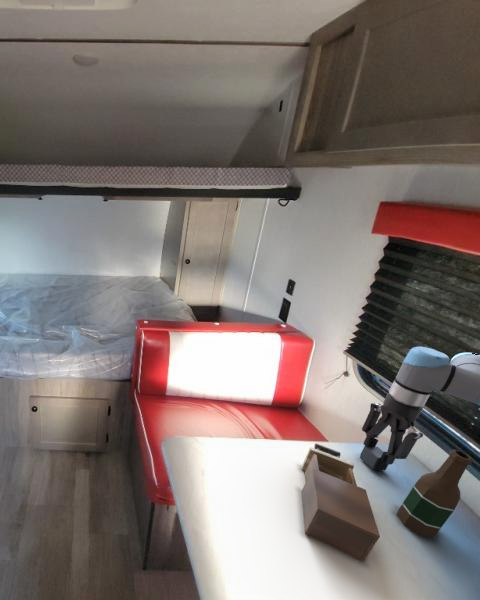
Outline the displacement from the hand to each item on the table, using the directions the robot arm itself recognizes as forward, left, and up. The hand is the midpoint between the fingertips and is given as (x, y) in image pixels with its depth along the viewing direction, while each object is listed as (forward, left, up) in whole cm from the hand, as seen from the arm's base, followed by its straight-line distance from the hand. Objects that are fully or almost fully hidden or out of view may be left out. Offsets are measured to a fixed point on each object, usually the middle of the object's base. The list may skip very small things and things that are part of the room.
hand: (372, 462), depth 101 cm
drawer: (+14, +18, -1) cm, 23 cm away
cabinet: (+14, +31, -2) cm, 34 cm away
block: (0, 0, 0) cm, 0 cm away
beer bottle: (-6, +18, -2) cm, 19 cm away
